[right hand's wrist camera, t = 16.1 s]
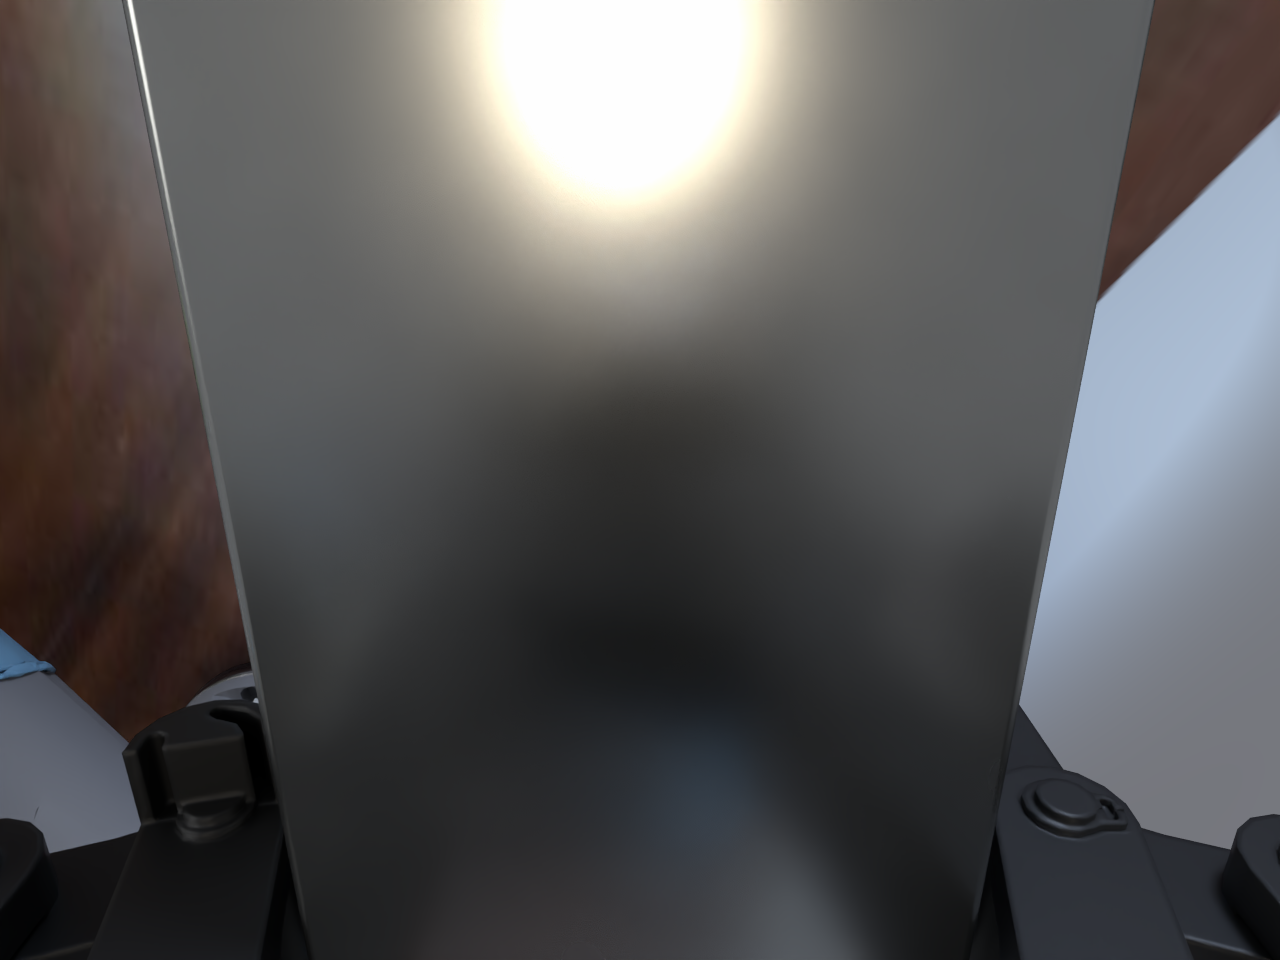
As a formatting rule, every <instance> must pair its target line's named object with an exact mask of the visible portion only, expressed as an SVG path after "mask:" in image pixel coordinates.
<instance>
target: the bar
mask: <svg viewBox="0 0 1280 960" xmlns="http://www.w3.org/2000/svg"><path fill="white" fill-rule="evenodd" d="M122 3H123V8H124V13H125V18H126V23H127V29H128V34H129V39H130V44H131V49H132V54H133V59H134V65H135V70H136V75H137V80H138V85H139V90H140V96H141V101H142V106H143V111H144V116H145V121H146V126H147V132H148V137H149V142H150V147H151V152H152V157H153V162H154V168H155V173H156V178H157V183H158V188H159V193H160V198H161V204H162V209H163V214H164V219H165V224H166V229H167V234H168V240H169V245H170V250H171V255H172V260H173V265H174V271H175V276H176V281H177V286H178V291H179V296H180V301H181V307H182V312H183V317H184V322H185V327H186V332H187V337H188V343H189V348H190V353H191V358H192V363H193V368H194V373H195V379H196V384H197V389H198V394H199V399H200V404H201V409H202V415H203V420H204V425H205V430H206V435H207V440H208V445H209V451H210V456H211V461H212V466H213V471H214V476H215V482H216V487H217V492H218V497H219V502H220V507H221V512H222V518H223V523H224V528H225V533H226V538H227V543H228V548H229V554H230V559H231V564H232V569H233V574H234V579H235V584H236V590H237V595H238V600H239V605H240V610H241V615H242V620H243V626H244V631H245V636H246V641H247V646H248V651H249V656H250V662H251V667H252V672H253V677H254V682H255V687H256V693H257V698H258V703H259V708H260V713H261V718H262V723H263V729H264V734H265V739H266V744H267V749H268V754H269V759H270V765H271V770H272V775H273V780H274V785H275V790H276V795H277V801H278V806H279V811H280V816H281V821H282V826H283V831H284V837H285V842H286V847H287V852H288V857H289V862H290V867H291V873H292V878H293V883H294V888H295V893H296V898H297V904H298V909H299V914H300V919H301V924H302V929H303V934H304V940H305V945H306V950H307V955H308V960H969V959H970V954H971V949H972V944H973V938H974V933H975V928H976V923H977V918H978V913H979V907H980V902H981V897H982V892H983V887H984V882H985V876H986V871H987V866H988V861H989V856H990V851H991V845H992V840H993V835H994V830H995V825H996V820H997V814H998V809H999V804H1000V799H1001V794H1002V789H1003V783H1004V778H1005V773H1006V768H1007V763H1008V758H1009V752H1010V747H1011V742H1012V737H1013V732H1014V727H1015V721H1016V716H1017V711H1018V706H1019V701H1020V696H1021V690H1022V685H1023V680H1024V675H1025V670H1026V665H1027V660H1028V654H1029V649H1030V644H1031V639H1032V634H1033V629H1034V623H1035V618H1036V613H1037V608H1038V603H1039V598H1040V592H1041V587H1042V582H1043V577H1044V572H1045V567H1046V561H1047V556H1048V551H1049V546H1050V541H1051V535H1052V530H1053V525H1054V520H1055V515H1056V510H1057V505H1058V499H1059V494H1060V489H1061V484H1062V479H1063V473H1064V468H1065V463H1066V458H1067V453H1068V448H1069V443H1070V437H1071V432H1072V427H1073V422H1074V417H1075V412H1076V406H1077V401H1078V396H1079V391H1080V386H1081V381H1082V375H1083V370H1084V365H1085V360H1086V355H1087V350H1088V344H1089V339H1090V334H1091V329H1092V324H1093V319H1094V313H1095V308H1096V303H1097V298H1098V293H1099V288H1100V283H1101V277H1102V272H1103V267H1104V262H1105V257H1106V252H1107V246H1108V241H1109V236H1110V231H1111V226H1112V221H1113V215H1114V210H1115V205H1116V200H1117V195H1118V190H1119V184H1120V179H1121V174H1122V169H1123V164H1124V159H1125V153H1126V148H1127V143H1128V138H1129V133H1130V128H1131V122H1132V117H1133V112H1134V107H1135V102H1136V97H1137V91H1138V86H1139V81H1140V76H1141V71H1142V66H1143V60H1144V55H1145V50H1146V45H1147V40H1148V35H1149V29H1150V24H1151V19H1152V14H1153V9H1154V4H1155V0H122Z"/></svg>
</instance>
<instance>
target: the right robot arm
mask: <svg viewBox="0 0 1280 960" xmlns="http://www.w3.org/2000/svg"><path fill="white" fill-rule="evenodd" d="M55 671H56V669H55V668H54V667H53V666H52V665H51V664H50V663H48V662H45V661H39V660H37V659H36V658H35V657H34V656H33V655H31V654H30V653H29V652H28V651H27V650H25V649H24V648H23V647H22V646H21V645H19V644H18V643H17V642H16V641H15V640H13V639H12V638H11V637H10V636H9V635H7V634H6V633H5V632H4V631H3V630H1V629H0V960H308V955H307V950H306V945H305V940H304V934H303V929H302V924H301V919H300V914H299V909H298V904H297V898H296V893H295V888H294V883H293V878H292V873H291V867H290V862H289V857H288V852H287V847H286V842H285V837H284V831H283V826H282V821H281V816H280V811H279V806H278V801H277V795H276V790H275V785H274V780H273V775H272V770H271V765H270V759H269V754H268V749H267V744H266V739H265V734H264V729H263V723H262V718H261V713H260V708H259V703H258V698H257V693H256V687H255V682H254V677H253V672H252V667H251V662H250V663H246V664H242V665H239V666H236V667H233V668H231V669H229V670H227V671H225V672H223V673H221V674H219V675H218V676H216V677H214V678H213V679H212V680H210V681H209V682H208V683H207V684H205V685H204V686H203V687H202V688H201V689H200V690H199V691H198V693H197V694H196V695H195V696H194V697H193V699H192V700H191V701H190V702H189V704H188V705H187V706H186V707H185V708H182V709H180V710H178V711H176V712H173V713H171V714H169V715H166V716H164V717H162V718H159V719H158V720H156V721H155V722H153V723H152V724H151V725H149V726H148V727H146V728H145V729H144V730H142V731H141V732H139V733H138V734H136V735H135V737H134V738H133V739H132V740H131V742H130V743H128V742H127V741H126V740H125V739H124V738H123V737H122V736H121V735H120V734H119V733H117V732H116V731H115V730H114V729H113V728H112V727H111V726H110V725H109V724H108V723H107V722H106V721H105V720H104V719H103V718H101V717H100V716H99V715H98V714H97V713H96V712H95V711H94V710H93V709H92V708H91V707H90V706H89V705H88V704H87V703H86V702H84V701H83V700H82V699H81V698H80V697H79V696H78V695H77V694H76V693H75V692H74V691H73V690H72V689H71V688H70V687H68V686H67V685H66V684H65V683H64V682H63V681H62V680H61V679H60V678H59V677H58V676H57V675H56V674H55ZM969 960H1280V815H1276V814H1271V815H1265V816H1259V817H1253V818H1250V819H1249V820H1247V821H1246V822H1245V823H1244V824H1243V825H1242V826H1240V827H1239V828H1238V829H1237V832H1236V835H1235V838H1234V841H1233V845H1232V848H1231V850H1230V849H1225V848H1220V847H1216V846H1212V845H1207V844H1203V843H1199V842H1194V841H1190V840H1185V839H1181V838H1176V837H1172V836H1168V835H1164V834H1160V833H1157V832H1154V831H1150V830H1146V829H1143V828H1141V827H1140V824H1139V822H1138V821H1137V819H1136V818H1135V816H1134V815H1133V813H1132V812H1131V810H1130V809H1129V807H1128V806H1127V805H1126V803H1124V802H1123V801H1122V800H1121V799H1119V798H1118V797H1117V796H1116V795H1114V794H1113V793H1112V792H1111V791H1109V790H1108V789H1107V788H1106V787H1104V786H1102V785H1100V784H1098V783H1096V782H1094V781H1092V780H1090V779H1088V778H1086V777H1084V776H1082V775H1080V774H1078V773H1074V772H1070V771H1067V770H1063V768H1062V767H1061V765H1060V764H1059V762H1058V761H1057V760H1056V758H1055V757H1054V755H1053V754H1052V752H1051V751H1050V749H1049V748H1048V746H1047V745H1046V743H1045V742H1044V740H1043V739H1042V738H1041V736H1040V735H1039V733H1038V732H1037V730H1036V729H1035V727H1034V726H1033V724H1032V723H1031V721H1030V720H1029V718H1028V717H1027V715H1026V714H1025V713H1024V711H1023V710H1022V708H1021V707H1020V705H1019V706H1018V711H1017V716H1016V721H1015V727H1014V732H1013V737H1012V742H1011V747H1010V752H1009V758H1008V763H1007V768H1006V773H1005V778H1004V783H1003V789H1002V794H1001V799H1000V804H999V809H998V814H997V820H996V825H995V830H994V835H993V840H992V845H991V851H990V856H989V861H988V866H987V871H986V876H985V882H984V887H983V892H982V897H981V902H980V907H979V913H978V918H977V923H976V928H975V933H974V938H973V944H972V949H971V954H970V959H969Z"/></svg>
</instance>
